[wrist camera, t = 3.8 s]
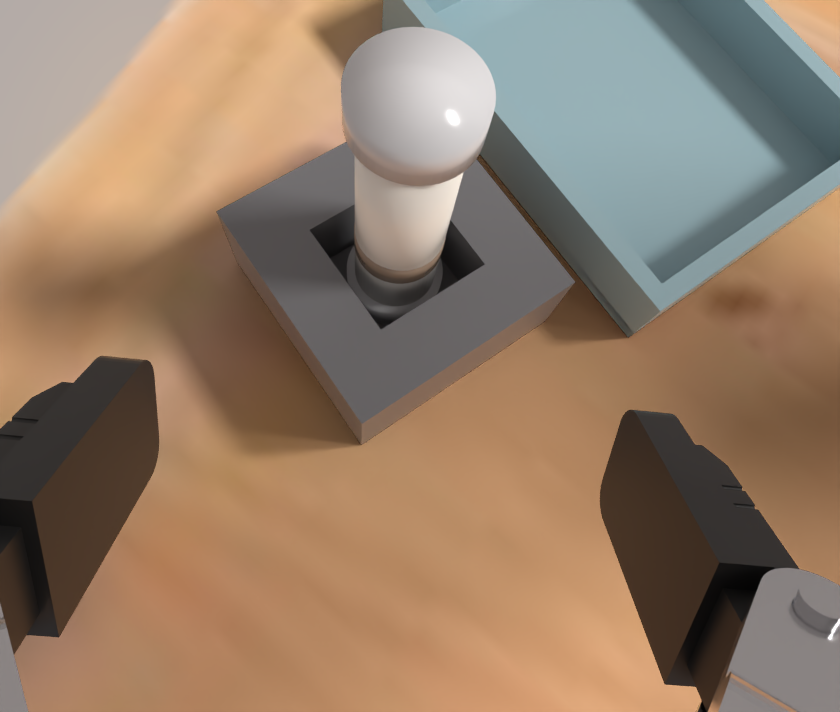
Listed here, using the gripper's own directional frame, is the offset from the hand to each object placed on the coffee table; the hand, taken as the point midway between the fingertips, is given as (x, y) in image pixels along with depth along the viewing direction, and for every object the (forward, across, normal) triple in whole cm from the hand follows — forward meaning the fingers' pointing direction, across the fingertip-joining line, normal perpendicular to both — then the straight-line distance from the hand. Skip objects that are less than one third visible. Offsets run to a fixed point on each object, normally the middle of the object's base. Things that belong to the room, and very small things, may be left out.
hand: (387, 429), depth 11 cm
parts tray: (+23, -9, -4) cm, 25 cm away
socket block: (+15, 0, +4) cm, 16 cm away
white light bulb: (+15, 0, +3) cm, 15 cm away
